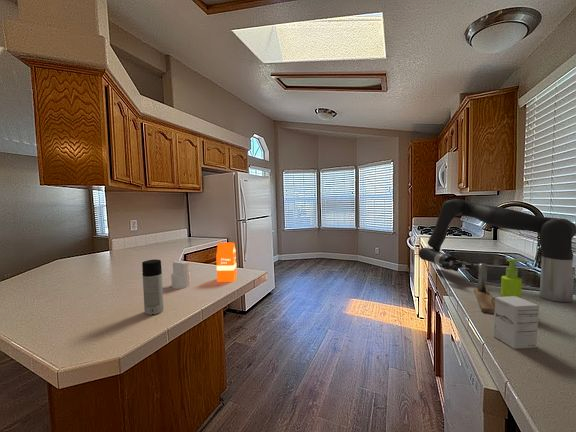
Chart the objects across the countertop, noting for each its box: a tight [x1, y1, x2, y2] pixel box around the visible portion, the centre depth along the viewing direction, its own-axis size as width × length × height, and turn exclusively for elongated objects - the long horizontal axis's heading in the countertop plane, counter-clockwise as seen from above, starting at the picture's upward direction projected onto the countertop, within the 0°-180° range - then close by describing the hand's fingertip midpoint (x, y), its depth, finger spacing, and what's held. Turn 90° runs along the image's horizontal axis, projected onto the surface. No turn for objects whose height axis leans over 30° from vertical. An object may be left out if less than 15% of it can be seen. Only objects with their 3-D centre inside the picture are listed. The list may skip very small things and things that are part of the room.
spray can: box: [141, 259, 164, 316], centre depth 107 cm, size 7×7×20 cm
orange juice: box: [215, 242, 238, 283], centre depth 147 cm, size 8×9×20 cm
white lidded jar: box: [170, 260, 192, 290], centre depth 138 cm, size 9×9×12 cm
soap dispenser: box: [500, 258, 527, 299], centre depth 102 cm, size 6×7×20 cm
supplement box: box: [493, 296, 540, 350], centre depth 82 cm, size 7×7×13 cm
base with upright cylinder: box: [473, 262, 495, 315], centre depth 110 cm, size 15×25×14 cm, turn 152°
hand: (466, 269), depth 131 cm, fingers open, 8 cm apart
